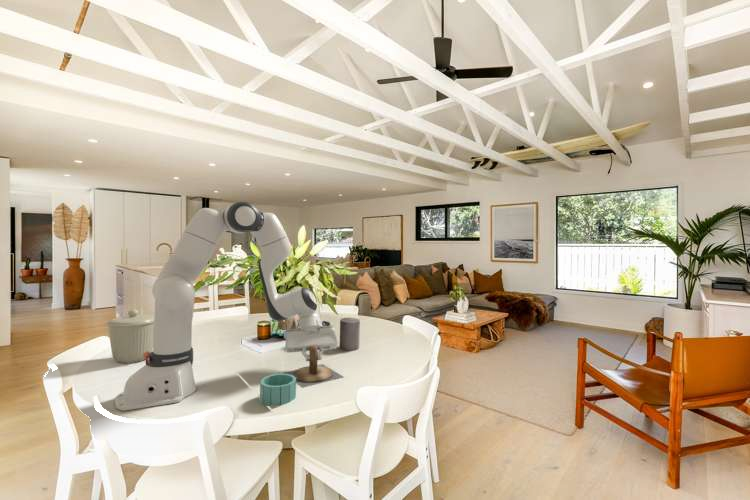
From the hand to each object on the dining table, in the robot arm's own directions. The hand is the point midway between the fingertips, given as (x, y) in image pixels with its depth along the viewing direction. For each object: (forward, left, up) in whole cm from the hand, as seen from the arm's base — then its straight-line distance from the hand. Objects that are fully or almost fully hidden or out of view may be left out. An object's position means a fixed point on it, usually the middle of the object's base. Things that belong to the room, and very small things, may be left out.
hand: (313, 359), depth 133 cm
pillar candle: (+31, +24, -7) cm, 40 cm away
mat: (0, +1, -6) cm, 6 cm away
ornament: (+13, +60, -7) cm, 61 cm away
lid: (0, +1, -6) cm, 6 cm away
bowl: (-18, -10, -6) cm, 22 cm away
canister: (-54, +60, -7) cm, 81 cm away
